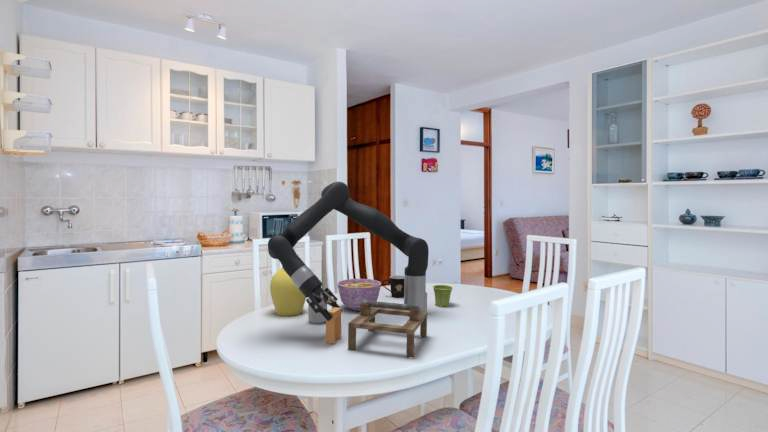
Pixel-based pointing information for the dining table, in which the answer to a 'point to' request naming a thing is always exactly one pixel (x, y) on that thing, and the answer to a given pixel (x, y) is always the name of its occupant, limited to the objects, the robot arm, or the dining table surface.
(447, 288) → the plant pot
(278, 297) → the vase
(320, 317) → the can
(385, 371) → the dining table surface
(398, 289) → the coffee mug
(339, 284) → the bowl of food
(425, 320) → the wooden slider frame
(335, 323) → the orange two-legged bench
